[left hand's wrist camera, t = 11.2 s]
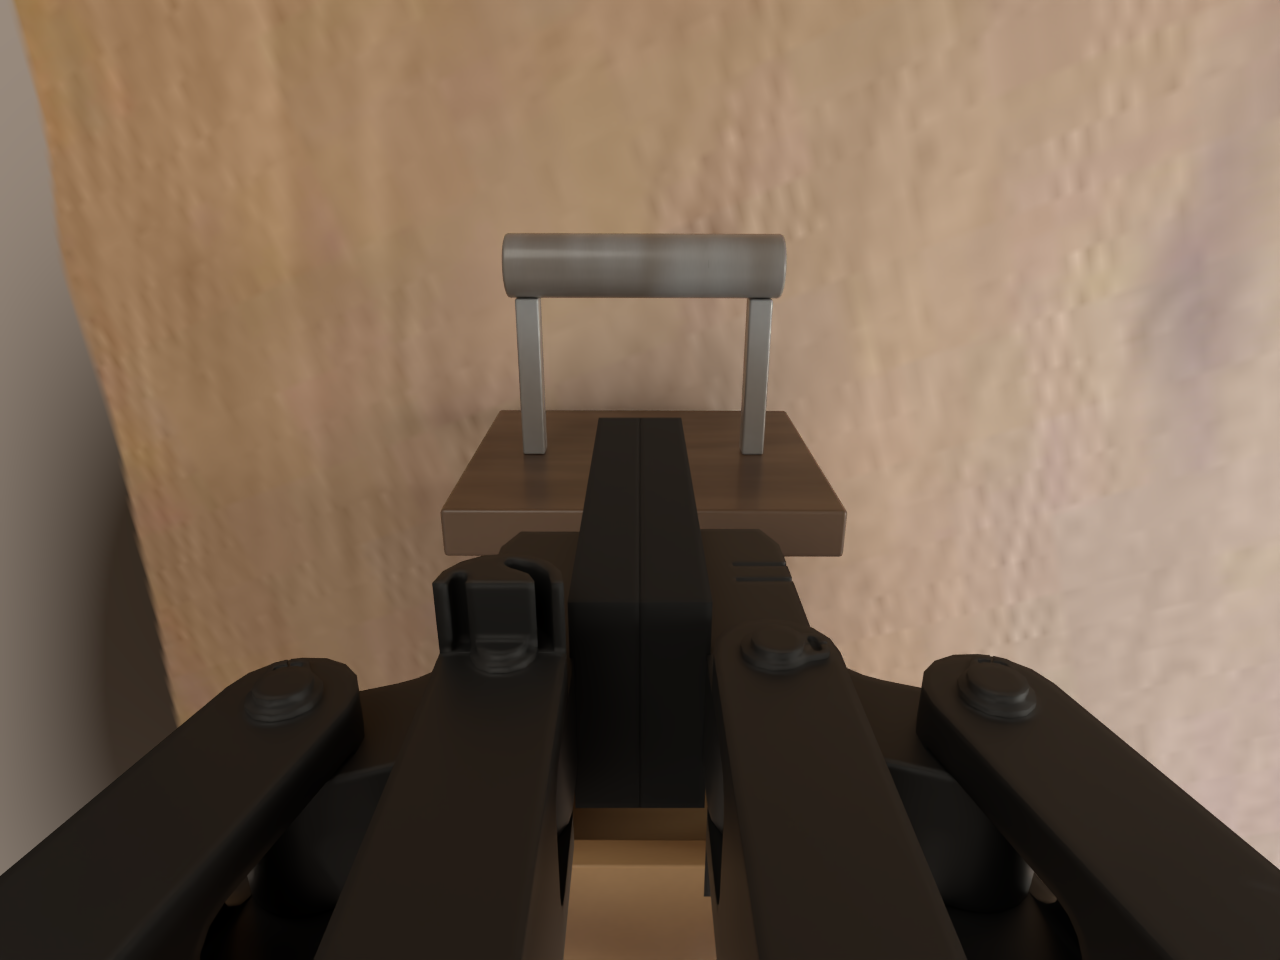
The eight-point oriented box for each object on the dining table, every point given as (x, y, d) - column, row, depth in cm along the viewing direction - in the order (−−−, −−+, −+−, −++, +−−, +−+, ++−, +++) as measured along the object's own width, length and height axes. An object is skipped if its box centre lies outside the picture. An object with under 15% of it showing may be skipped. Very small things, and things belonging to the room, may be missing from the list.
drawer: (487, 223, 23) (412, 246, 16) (799, 224, 24) (877, 249, 16) (522, 770, 31) (484, 967, 23) (759, 771, 31) (799, 967, 23)
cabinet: (503, 648, 30) (441, 865, 21) (779, 648, 30) (843, 867, 21) (525, 947, 36) (483, 1224, 26) (755, 947, 36) (797, 1224, 26)
